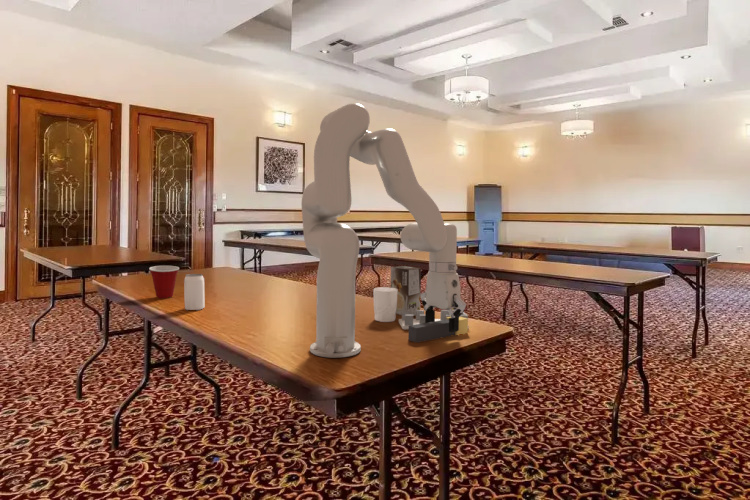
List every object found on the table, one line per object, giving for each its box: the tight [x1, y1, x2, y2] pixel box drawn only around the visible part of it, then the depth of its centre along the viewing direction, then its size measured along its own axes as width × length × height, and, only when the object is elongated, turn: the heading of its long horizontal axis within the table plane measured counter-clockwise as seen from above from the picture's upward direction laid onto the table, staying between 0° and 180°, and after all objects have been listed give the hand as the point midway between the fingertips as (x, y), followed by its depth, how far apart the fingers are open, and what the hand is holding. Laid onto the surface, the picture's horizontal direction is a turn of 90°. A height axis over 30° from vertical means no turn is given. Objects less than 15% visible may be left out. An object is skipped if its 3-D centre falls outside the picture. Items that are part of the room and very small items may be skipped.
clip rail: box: [398, 309, 470, 330], centre depth 140 cm, size 9×20×4 cm, turn 95°
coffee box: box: [390, 265, 422, 317], centre depth 156 cm, size 9×6×16 cm
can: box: [183, 273, 206, 311], centre depth 157 cm, size 6×6×12 cm
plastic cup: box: [149, 265, 180, 299], centre depth 178 cm, size 11×11×12 cm
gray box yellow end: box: [407, 317, 469, 343], centre depth 127 cm, size 19×4×4 cm, turn 125°
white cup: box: [373, 286, 398, 323], centre depth 146 cm, size 8×8×10 cm
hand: (441, 327), depth 128 cm, fingers open, 9 cm apart
